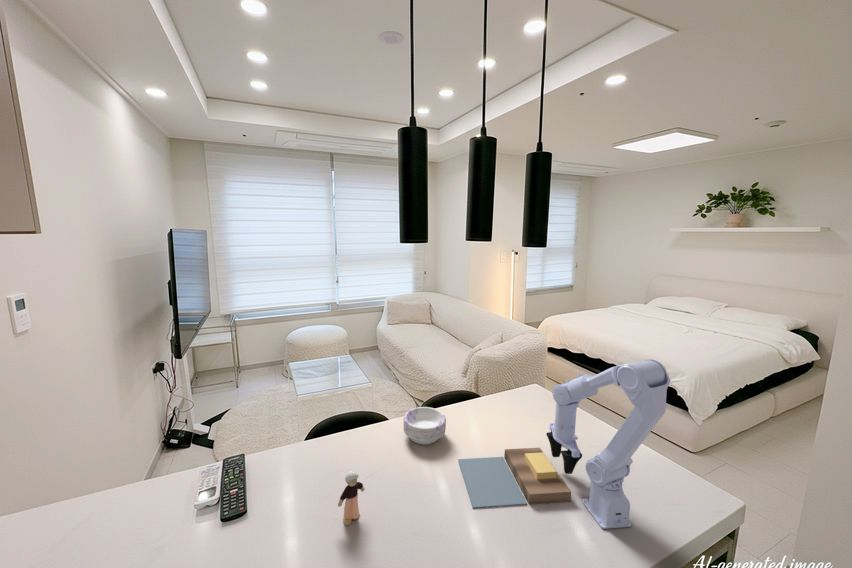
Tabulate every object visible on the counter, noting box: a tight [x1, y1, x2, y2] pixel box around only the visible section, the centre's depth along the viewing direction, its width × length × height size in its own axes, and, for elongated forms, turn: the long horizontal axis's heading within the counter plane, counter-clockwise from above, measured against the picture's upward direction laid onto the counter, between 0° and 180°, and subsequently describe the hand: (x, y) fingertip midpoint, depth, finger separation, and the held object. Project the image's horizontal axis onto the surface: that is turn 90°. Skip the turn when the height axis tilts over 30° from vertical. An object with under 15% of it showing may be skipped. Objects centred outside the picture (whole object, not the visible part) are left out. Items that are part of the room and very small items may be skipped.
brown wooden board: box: [503, 447, 572, 505], centre depth 103 cm, size 20×12×3 cm, turn 6°
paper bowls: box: [403, 406, 447, 445], centre depth 123 cm, size 15×15×8 cm
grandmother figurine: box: [337, 470, 365, 526], centre depth 87 cm, size 8×4×13 cm, turn 148°
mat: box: [457, 456, 528, 510], centre depth 102 cm, size 20×15×1 cm
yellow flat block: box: [525, 451, 558, 479], centre depth 103 cm, size 9×6×2 cm, turn 6°
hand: (561, 464), depth 104 cm, fingers open, 7 cm apart
